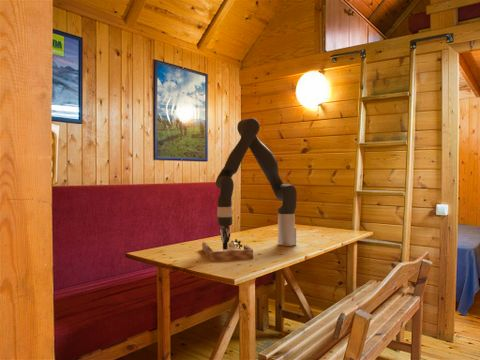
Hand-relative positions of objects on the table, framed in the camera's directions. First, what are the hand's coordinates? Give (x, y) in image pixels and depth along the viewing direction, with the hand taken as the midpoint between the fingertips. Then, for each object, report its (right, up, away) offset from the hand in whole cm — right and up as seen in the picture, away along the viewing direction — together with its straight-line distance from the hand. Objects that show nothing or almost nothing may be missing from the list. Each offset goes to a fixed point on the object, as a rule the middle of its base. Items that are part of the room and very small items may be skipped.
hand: (225, 250), depth 186 cm
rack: (+1, -1, -4) cm, 4 cm away
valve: (+4, -2, -5) cm, 7 cm away
